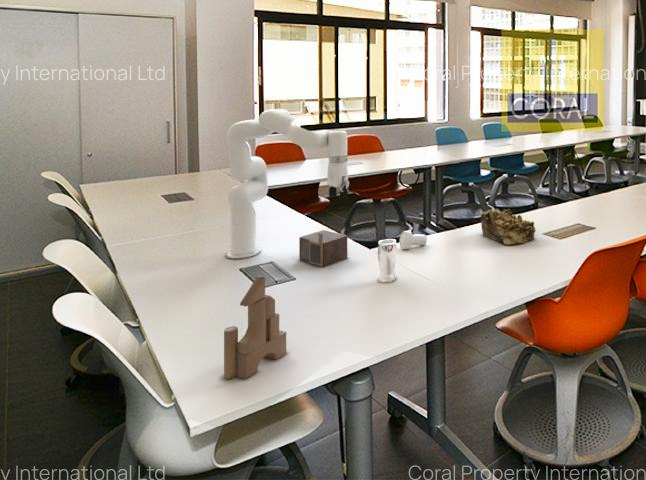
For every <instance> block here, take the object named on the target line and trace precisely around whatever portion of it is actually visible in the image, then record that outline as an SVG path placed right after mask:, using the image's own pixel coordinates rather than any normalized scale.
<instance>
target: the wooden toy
mask: <svg viewBox="0 0 646 480" xmlns="http://www.w3.org/2000/svg"><path fill="white" fill-rule="evenodd" d="M239 306H243V307H247V329H246V331H245V334H244V335H243V336H242V337H241V339H240V340H239V328H238V326H233V325H232V326H228V327H226V328H225V329H224V331H223V377H224V379H226V380H230V379H233V378H235V377H238V378H241V379H245V380H247V379H248V378H250V377H252V376H253V375H255V374H256V373H258V369H259V366H260V363H261V361H262V360H263V358H268V359H272V360H278V359H280V358H281V357H284V355H286V354H287V331H286V330H285V331H284V330H280V313H277V312H276V299H275V298H274V297H272V296H271V295H268V294H266V277H265V276H263V275H257V276H256V277H255V279H254V280H253V282H252V284H251V285H250V287H249V288H248V290H247V292H246V293H245V295H244V297H243V298H242V300H240V303H239Z"/></svg>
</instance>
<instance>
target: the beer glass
mask: <svg viewBox="0 0 646 480" xmlns="http://www.w3.org/2000/svg"><path fill="white" fill-rule="evenodd" d="M377 259H378V266H379V278H378V281H379V282H380V283H391V282H394V281H396V273H395V267H396V266H395V265H396V261H397V240H396V239H392V238H386V239H381V240H379V241H378V246H377Z"/></svg>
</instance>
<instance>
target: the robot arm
mask: <svg viewBox="0 0 646 480" xmlns="http://www.w3.org/2000/svg"><path fill="white" fill-rule="evenodd" d="M274 133H277V134H280V135H282V136H285V137H286V138H288V140H290V141H291V142H292V143H293V144H295V145H297V146H299V147H301V148H305V149H308V150H318V149H322V148H323V149H324V148H326V147H328V164H327V175H326V176H327V177H326V183H327V185H328V198H330V199H332V198H336V197H337V195H338V194H337V193H338V192H337V190H338V188H339V190H340V191H339V201H340V202H346V201H349V195H348V194H349V189H350V181H349V175H348V174H349V171H348V164H347V163H348V133H347V131H346V130H331V129H321V130H314V131H311V130H308V129H306V128H303V127H301V122H300V120H299V119H298V118H296V117H294V116H292V115H291V113H290V112H289V111H288V110H287V109H284V108H274V109H267V110H264V111H263V112H261V113H260V115H259V116H258V118H255V119H246V120H241V121H237V122H235V123H233V124H232V125H230V126H229V128H228V130H227V132H226V145H227V148H228V149H227V150H228V158H229V159H228V160H229V172H230V173H229V174H230V177H231V178H232V180H234V181H235V182H236V181H237V182H240V181H246V180H247V181H246V182H242V183H238V184H236V185H234V186H233V187H231V188H230V189H229V192H228V194H227V195H228V196H227V200H228V204H229V209H230V244H228V247H229V248H230V250H229V251H228V252H227V253H226V258H228V259H237V260H238V259H245V258H246V259H247V258H250V257H254V256H256V255H258V254H259V253H260V252H261V250H260V248H259V247H257V246H256V245H257V243H256V238H257V237H256V235H257V234H256V233H257V231H256V230H257V229H256V228H257V225H256V224H257V223H256V220H257V219H256V210H255V207H254V206H253V203H254V202H258V201H260V200H263V199H264V198H265V197H266V196H267V194H268V192H269V182H268V181H269V180H268V170H267V169H268V168H267V164H266V162H265V160H264V159H263V157H260V156H256V155H253V156H252V149H251V146H250V144H249V142H248V140H254V139H260V138H264V137H268V136H269V135H271V134H274Z"/></svg>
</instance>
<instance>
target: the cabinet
mask: <svg viewBox="0 0 646 480" xmlns="http://www.w3.org/2000/svg"><path fill="white" fill-rule="evenodd" d="M318 233H323V266H322V267H323V268H325V267H328V266H330V265H333V264H335V263H339V262H341V261H344V260H347V259H348V235H347V234H342V233H337V232H333V231H329V230H324V229H322V230H318V231H316V232H312V233H309V234H306V235H302V236H299V247H298V248H299V254H298V255H299V261H301V262H305V263H308V264H310V263H309V240H311V241H315V242H318Z"/></svg>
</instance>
